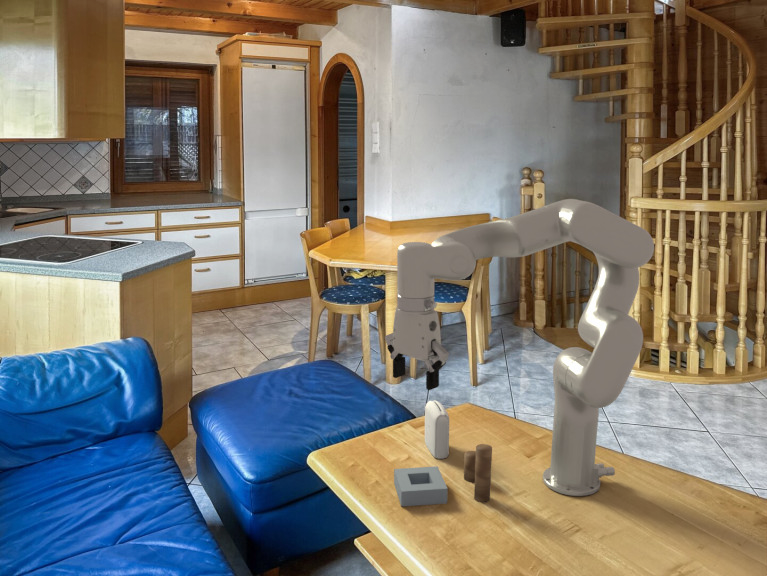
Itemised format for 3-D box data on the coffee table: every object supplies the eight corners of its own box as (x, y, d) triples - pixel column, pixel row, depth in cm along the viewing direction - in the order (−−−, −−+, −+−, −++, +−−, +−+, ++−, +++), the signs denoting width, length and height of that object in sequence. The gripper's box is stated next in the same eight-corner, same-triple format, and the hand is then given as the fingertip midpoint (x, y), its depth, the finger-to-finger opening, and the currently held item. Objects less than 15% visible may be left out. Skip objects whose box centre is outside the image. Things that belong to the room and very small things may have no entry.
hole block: (437, 480, 156) (437, 466, 155) (447, 503, 146) (447, 488, 146) (394, 483, 155) (394, 469, 154) (401, 506, 145) (401, 491, 144)
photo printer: (422, 442, 175) (423, 396, 173) (438, 440, 176) (439, 395, 174) (433, 460, 166) (434, 412, 163) (450, 458, 167) (452, 411, 164)
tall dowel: (487, 493, 150) (489, 443, 148) (491, 502, 147) (494, 450, 144) (472, 494, 150) (474, 444, 147) (476, 503, 147) (478, 451, 144)
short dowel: (476, 474, 159) (477, 450, 158) (480, 481, 156) (481, 457, 154) (462, 475, 159) (463, 451, 157) (465, 482, 155) (466, 458, 154)
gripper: (460, 307, 136) (458, 388, 139) (399, 293, 148) (399, 368, 152) (434, 314, 131) (433, 398, 134) (373, 299, 143) (374, 376, 147)
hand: (415, 382), depth 143 cm, fingers open, 9 cm apart
